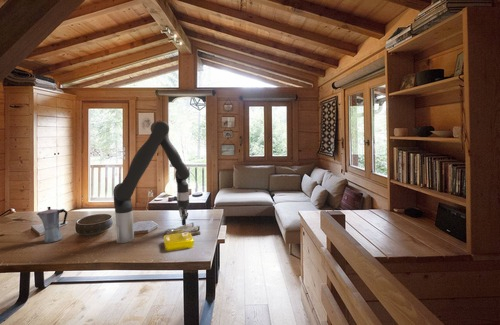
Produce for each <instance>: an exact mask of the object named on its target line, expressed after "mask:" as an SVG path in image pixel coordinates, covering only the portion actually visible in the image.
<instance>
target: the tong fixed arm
mask: <svg viewBox="0 0 500 325" xmlns="http://www.w3.org/2000/svg"><path fill="white" fill-rule="evenodd" d="M198 230H199V231H200V225H196V226H194V227H189V228H184V229H178V230H174V228H169V229H168V231H169V234H177V233H185V232H192V231H198Z"/></svg>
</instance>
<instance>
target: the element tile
mask: <svg viewBox="0 0 500 325" xmlns="http://www.w3.org/2000/svg"><path fill="white" fill-rule="evenodd" d="M194 245H195V244H194V238H193V236H191V233H189V232H185V233H177V234H169V235H167V234H165V235H164V236H163V246H164V251H166V252H171V251H179V250H186V249H192V248H194Z"/></svg>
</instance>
